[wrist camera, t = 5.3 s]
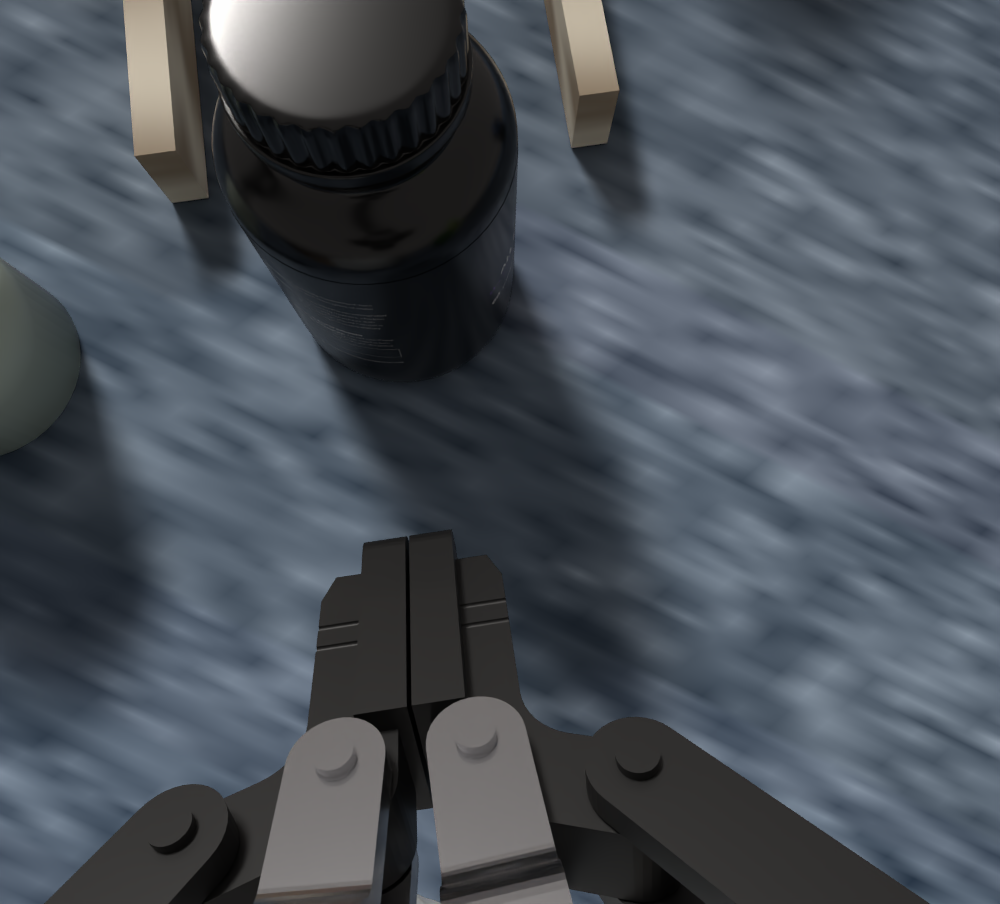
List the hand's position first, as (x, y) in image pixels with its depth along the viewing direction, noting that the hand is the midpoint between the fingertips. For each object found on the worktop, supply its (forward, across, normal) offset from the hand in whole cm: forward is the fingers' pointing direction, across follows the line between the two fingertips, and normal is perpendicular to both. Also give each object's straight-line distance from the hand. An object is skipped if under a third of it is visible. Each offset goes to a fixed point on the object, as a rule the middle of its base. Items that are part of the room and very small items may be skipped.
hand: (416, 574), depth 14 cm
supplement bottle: (+14, 0, +1) cm, 15 cm away
